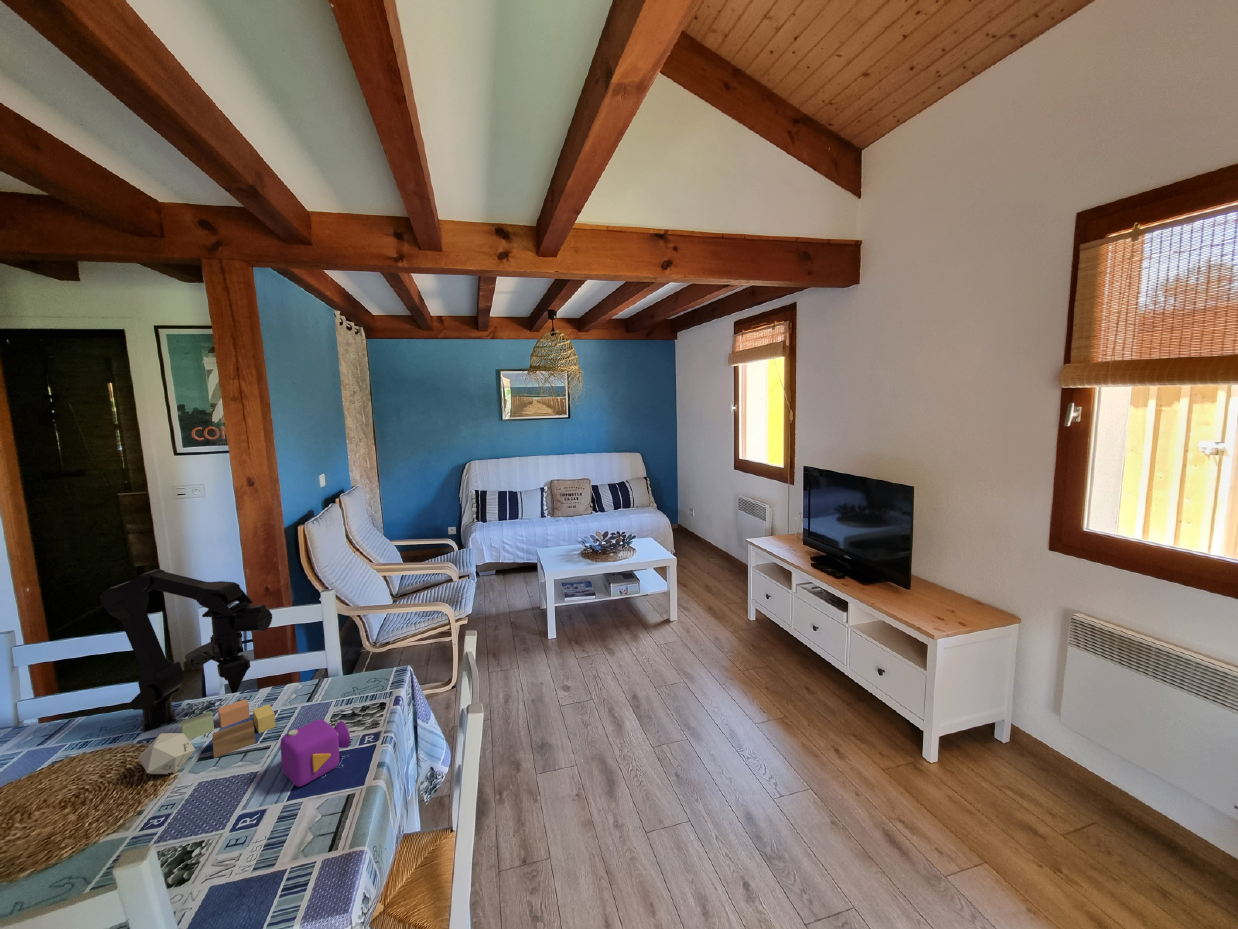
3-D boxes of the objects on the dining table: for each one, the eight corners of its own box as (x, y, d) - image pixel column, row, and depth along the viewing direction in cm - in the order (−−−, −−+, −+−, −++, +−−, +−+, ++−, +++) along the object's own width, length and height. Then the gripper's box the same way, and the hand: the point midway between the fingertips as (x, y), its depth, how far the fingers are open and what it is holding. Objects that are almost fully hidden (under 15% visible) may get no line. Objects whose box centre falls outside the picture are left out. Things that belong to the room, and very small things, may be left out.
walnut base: (213, 748, 119) (212, 733, 118) (253, 734, 124) (252, 719, 124) (214, 758, 115) (212, 743, 115) (255, 744, 120) (254, 729, 120)
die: (148, 793, 105) (181, 750, 107) (118, 769, 106) (152, 727, 109) (181, 778, 113) (211, 738, 116) (154, 757, 114) (184, 717, 117)
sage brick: (181, 736, 123) (180, 721, 123) (211, 725, 128) (210, 711, 127) (183, 742, 121) (182, 727, 120) (214, 731, 125) (212, 716, 125)
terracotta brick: (219, 722, 129) (217, 708, 128) (246, 712, 133) (245, 699, 133) (221, 728, 126) (220, 714, 126) (249, 717, 131) (248, 704, 130)
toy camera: (360, 754, 116) (358, 716, 115) (303, 794, 104) (300, 751, 103) (331, 742, 121) (329, 704, 120) (274, 778, 108) (271, 737, 108)
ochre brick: (258, 734, 124) (257, 719, 124) (253, 723, 128) (252, 710, 128) (275, 727, 127) (274, 713, 126) (270, 717, 131) (269, 704, 130)
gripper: (181, 630, 128) (186, 685, 129) (191, 653, 115) (196, 714, 117) (234, 617, 136) (238, 669, 137) (248, 637, 123) (252, 694, 125)
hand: (231, 686), depth 129 cm, fingers open, 9 cm apart
